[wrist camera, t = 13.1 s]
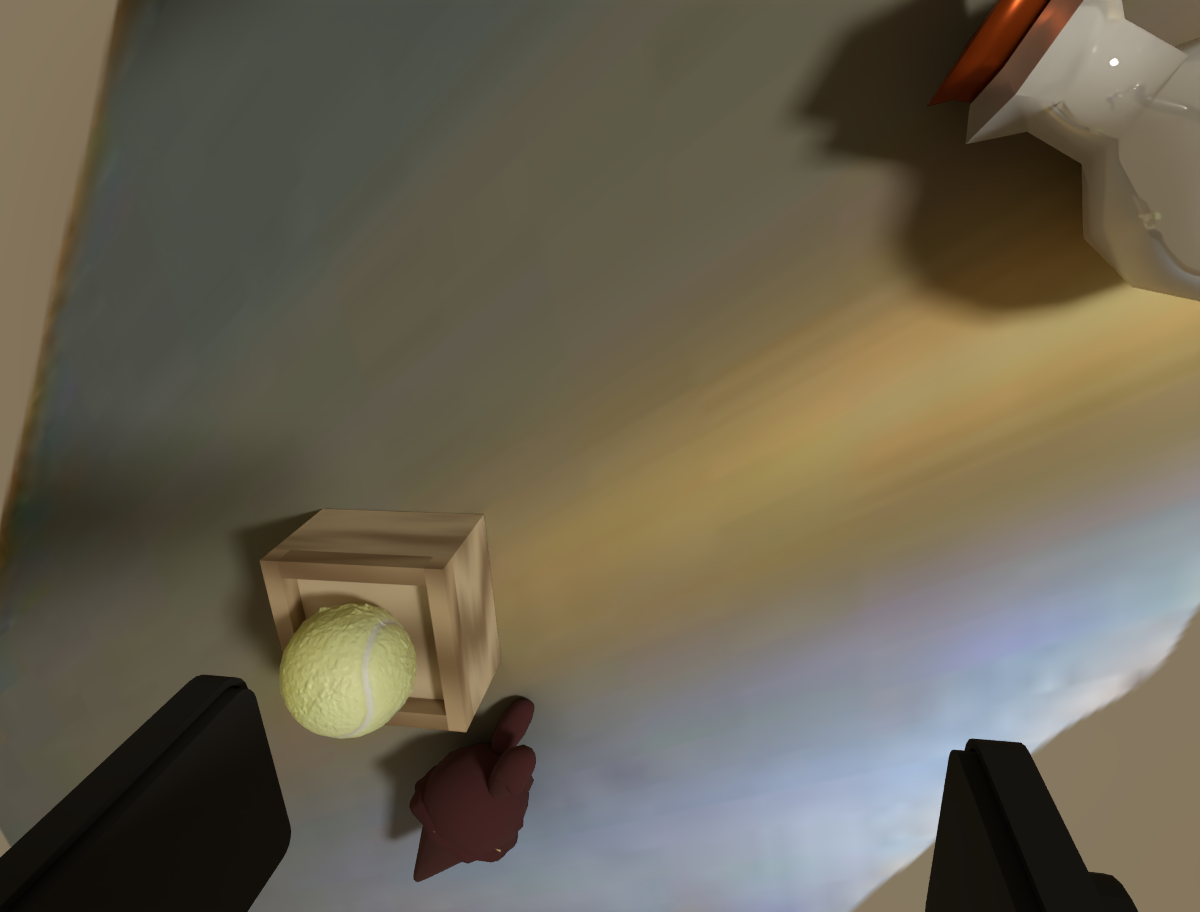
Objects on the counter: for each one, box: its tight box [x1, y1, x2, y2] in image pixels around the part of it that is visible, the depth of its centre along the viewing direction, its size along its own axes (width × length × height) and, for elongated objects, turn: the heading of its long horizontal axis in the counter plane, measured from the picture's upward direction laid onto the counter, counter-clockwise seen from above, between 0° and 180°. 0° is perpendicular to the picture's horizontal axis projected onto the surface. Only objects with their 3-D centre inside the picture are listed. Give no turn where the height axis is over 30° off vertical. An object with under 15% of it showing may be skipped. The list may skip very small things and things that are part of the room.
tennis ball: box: [279, 603, 417, 738], centre depth 37 cm, size 6×7×7 cm
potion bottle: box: [927, 0, 1200, 301], centre depth 26 cm, size 9×10×15 cm
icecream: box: [409, 699, 536, 882], centre depth 46 cm, size 7×7×15 cm
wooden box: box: [259, 509, 501, 732], centre depth 41 cm, size 10×10×6 cm
